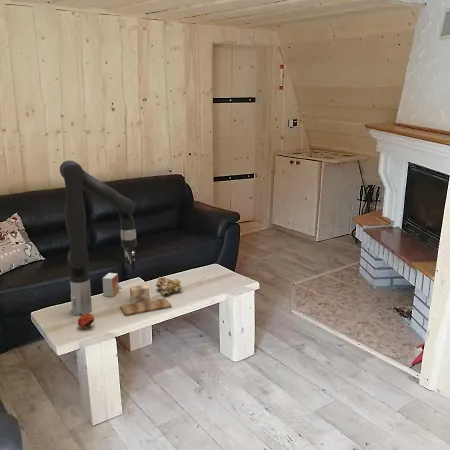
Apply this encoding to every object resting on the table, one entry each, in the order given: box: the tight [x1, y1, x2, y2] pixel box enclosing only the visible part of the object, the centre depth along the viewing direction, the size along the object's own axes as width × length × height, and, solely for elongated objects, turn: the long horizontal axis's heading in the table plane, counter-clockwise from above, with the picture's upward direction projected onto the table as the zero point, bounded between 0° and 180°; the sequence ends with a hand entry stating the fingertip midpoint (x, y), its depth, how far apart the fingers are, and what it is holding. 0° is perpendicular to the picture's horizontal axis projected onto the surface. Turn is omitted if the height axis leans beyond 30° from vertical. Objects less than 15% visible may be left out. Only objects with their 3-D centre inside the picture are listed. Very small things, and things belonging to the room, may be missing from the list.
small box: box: [102, 272, 120, 298], centre depth 262 cm, size 8×6×10 cm
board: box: [119, 297, 172, 317], centre depth 246 cm, size 24×10×1 cm, turn 115°
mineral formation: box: [155, 276, 183, 297], centre depth 267 cm, size 8×13×15 cm
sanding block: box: [129, 284, 151, 304], centre depth 255 cm, size 9×5×7 cm, turn 115°
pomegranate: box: [77, 313, 95, 330], centre depth 225 cm, size 7×7×10 cm
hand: (131, 267), depth 249 cm, fingers open, 8 cm apart
